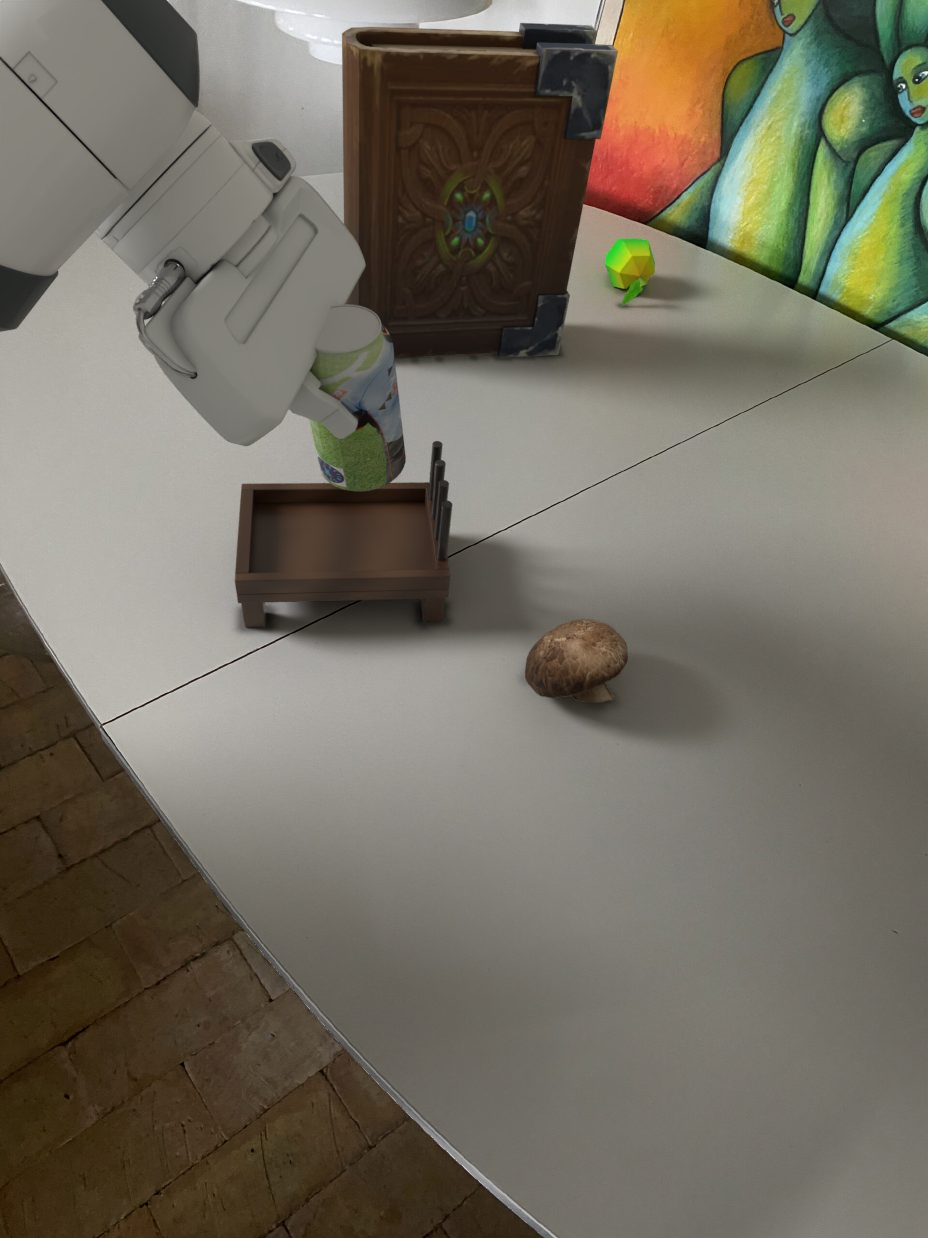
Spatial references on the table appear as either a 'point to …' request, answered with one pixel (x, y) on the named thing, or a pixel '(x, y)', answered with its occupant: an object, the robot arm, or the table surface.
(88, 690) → the table surface
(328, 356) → the beverage can
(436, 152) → the decorative book
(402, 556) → the tray
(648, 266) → the apple
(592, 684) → the mushroom
